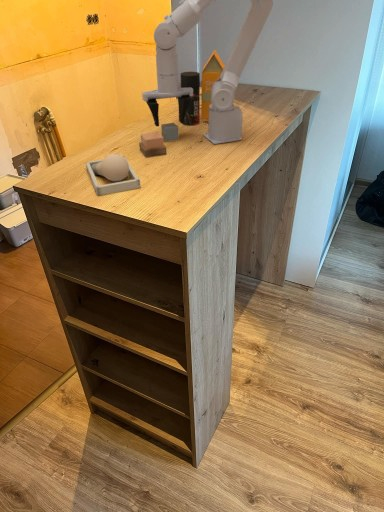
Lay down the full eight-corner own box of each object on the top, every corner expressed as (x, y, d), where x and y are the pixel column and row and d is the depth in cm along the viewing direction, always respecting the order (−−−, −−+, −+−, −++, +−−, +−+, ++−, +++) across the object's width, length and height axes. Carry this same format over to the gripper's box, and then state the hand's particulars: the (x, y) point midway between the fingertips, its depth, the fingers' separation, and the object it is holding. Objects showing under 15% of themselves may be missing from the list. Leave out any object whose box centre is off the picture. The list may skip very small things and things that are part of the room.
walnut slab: (159, 148, 108) (159, 139, 106) (166, 155, 103) (166, 147, 102) (139, 151, 106) (139, 142, 105) (145, 159, 102) (145, 150, 100)
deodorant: (187, 118, 127) (186, 70, 118) (202, 121, 125) (203, 72, 116) (178, 123, 123) (176, 74, 114) (193, 126, 121) (193, 76, 112)
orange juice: (224, 112, 133) (227, 48, 121) (223, 119, 126) (226, 53, 114) (202, 111, 134) (203, 48, 121) (200, 119, 127) (201, 53, 114)
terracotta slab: (158, 140, 106) (157, 131, 104) (163, 146, 102) (163, 137, 101) (141, 142, 104) (140, 134, 103) (146, 149, 101) (145, 140, 99)
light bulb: (80, 157, 90) (111, 154, 84) (101, 154, 95) (131, 150, 89) (86, 184, 92) (117, 183, 86) (106, 179, 97) (136, 178, 91)
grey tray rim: (125, 163, 99) (124, 156, 98) (140, 187, 88) (139, 180, 86) (86, 169, 96) (85, 162, 95) (97, 195, 85) (96, 187, 83)
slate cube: (174, 135, 115) (173, 122, 112) (178, 140, 112) (178, 126, 110) (161, 137, 114) (161, 124, 111) (166, 142, 111) (165, 128, 108)
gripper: (186, 68, 107) (187, 116, 115) (137, 72, 103) (141, 122, 111) (196, 73, 102) (195, 123, 110) (144, 78, 97) (148, 130, 106)
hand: (169, 123), depth 110 cm, fingers open, 7 cm apart
